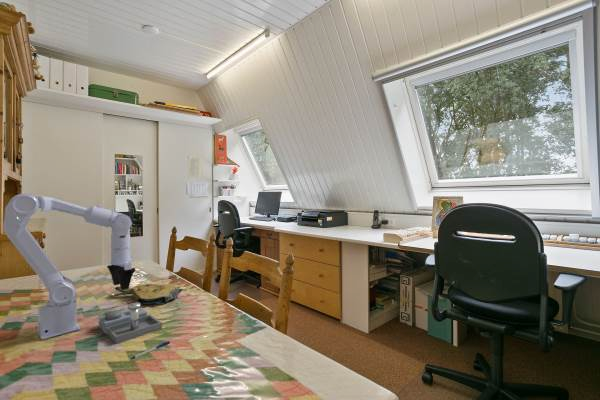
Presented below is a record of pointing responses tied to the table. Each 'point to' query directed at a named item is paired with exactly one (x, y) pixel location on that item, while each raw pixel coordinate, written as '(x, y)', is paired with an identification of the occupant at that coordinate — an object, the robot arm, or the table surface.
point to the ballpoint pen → (152, 349)
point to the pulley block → (152, 293)
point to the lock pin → (134, 315)
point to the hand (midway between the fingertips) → (121, 286)
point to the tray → (123, 330)
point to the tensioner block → (117, 318)
